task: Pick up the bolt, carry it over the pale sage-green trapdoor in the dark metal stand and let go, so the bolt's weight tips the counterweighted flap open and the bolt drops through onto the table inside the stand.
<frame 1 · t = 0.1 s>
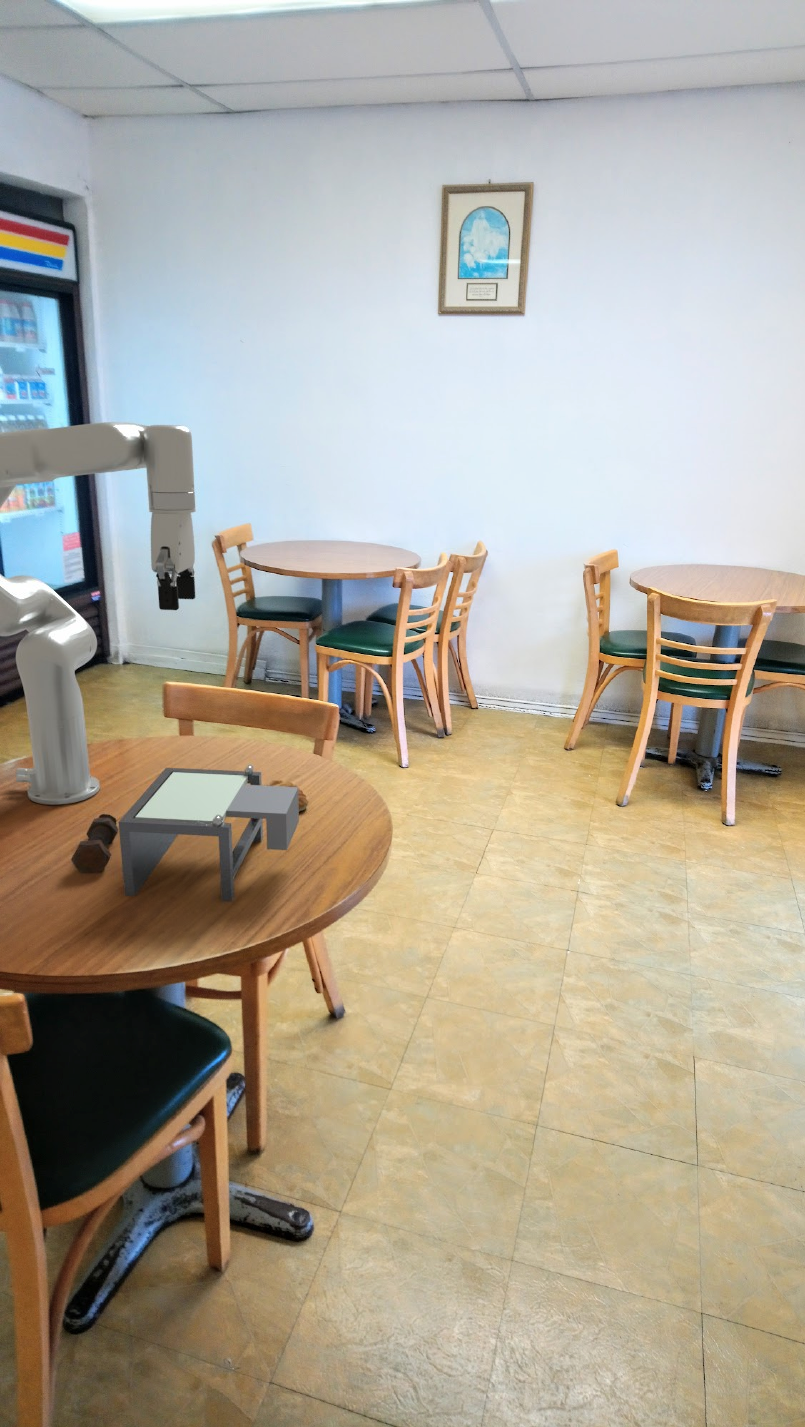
hand: (178, 604, 150), 37 cm above the table, tool pointing down, fingers open, 9 cm apart
trapdoor: (224, 814, 134), point 9 cm above the table, hinge at 0.0°
pastry: (285, 805, 161), on the table
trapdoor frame: (198, 864, 137), on the table
bolt: (101, 853, 141), on the table
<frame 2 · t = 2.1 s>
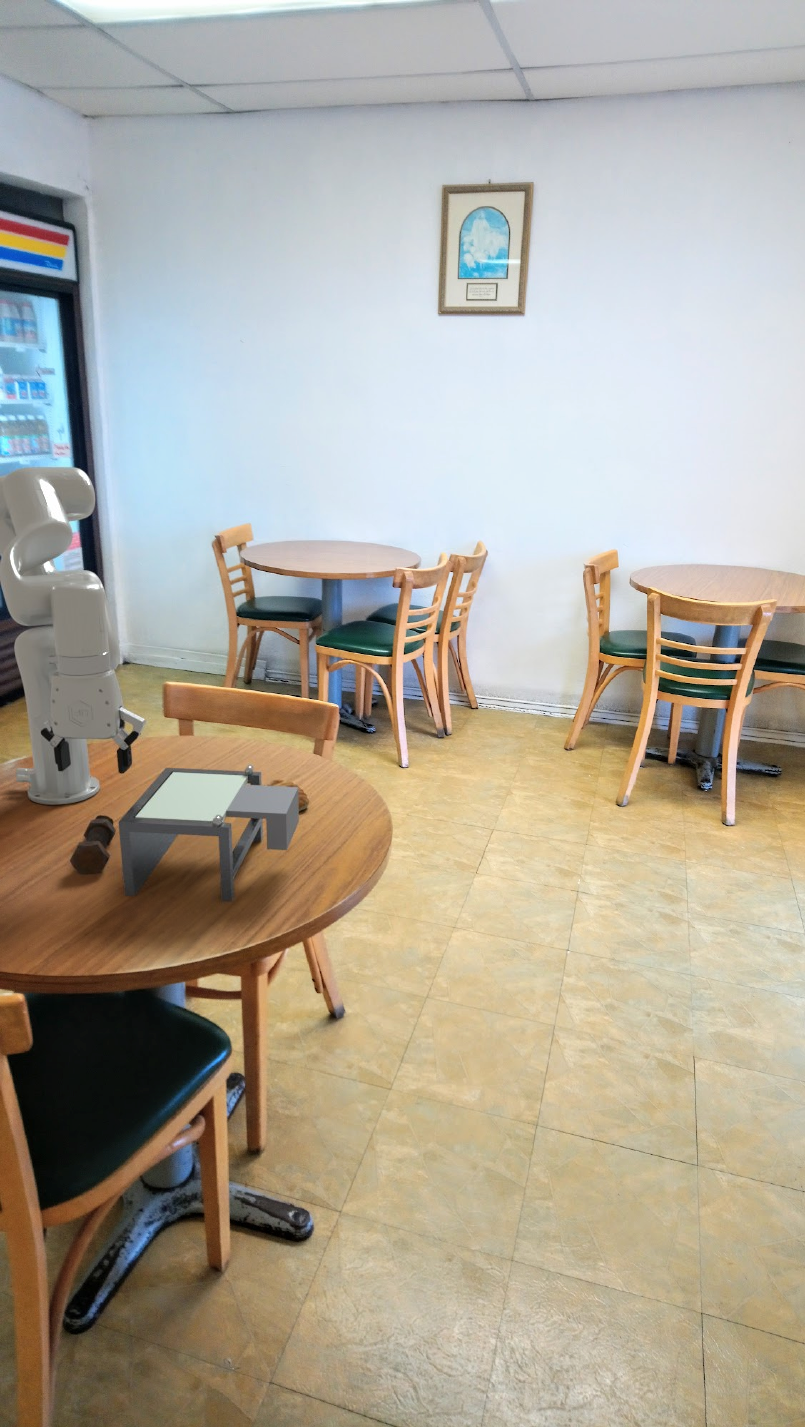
hand: (94, 769, 136), 14 cm above the table, tool pointing down, fingers open, 9 cm apart
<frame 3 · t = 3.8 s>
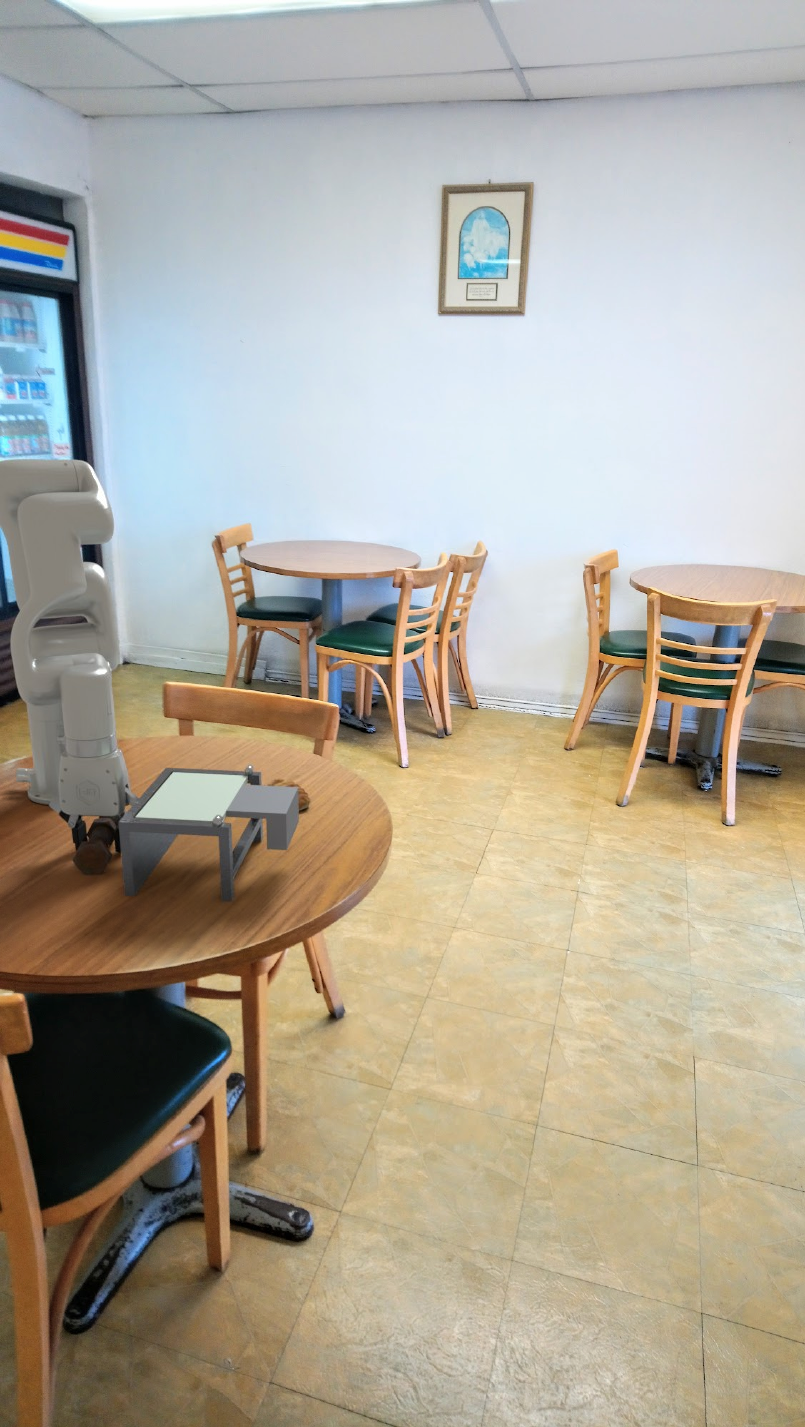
hand: (101, 847, 141), 1 cm above the table, tool pointing down, fingers closed on bolt, 5 cm apart
bolt: (102, 853, 141), on the table, touching gripper
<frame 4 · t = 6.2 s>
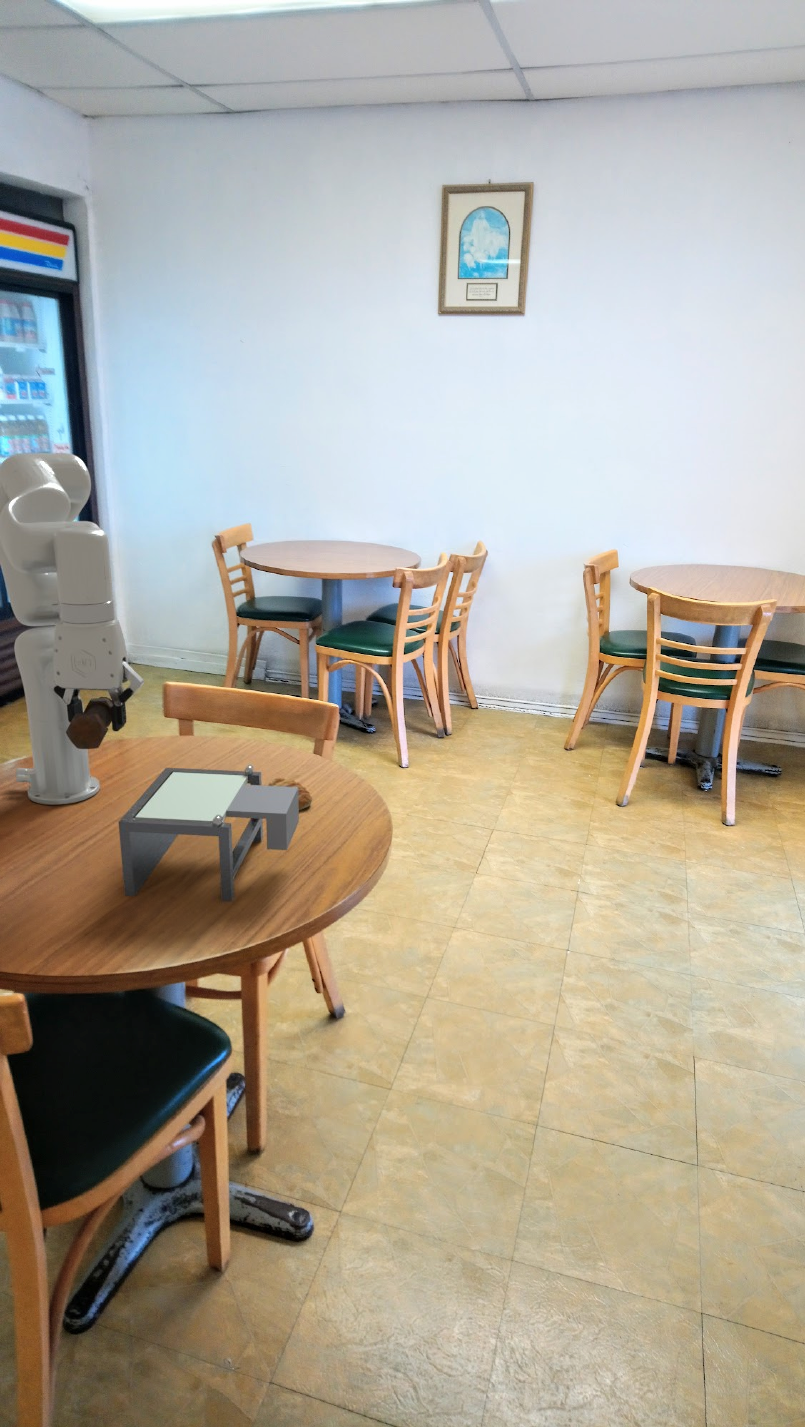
hand: (98, 726, 134), 22 cm above the table, tool pointing down, fingers closed on bolt, 5 cm apart
bolt: (98, 733, 134), point 21 cm above the table, touching gripper
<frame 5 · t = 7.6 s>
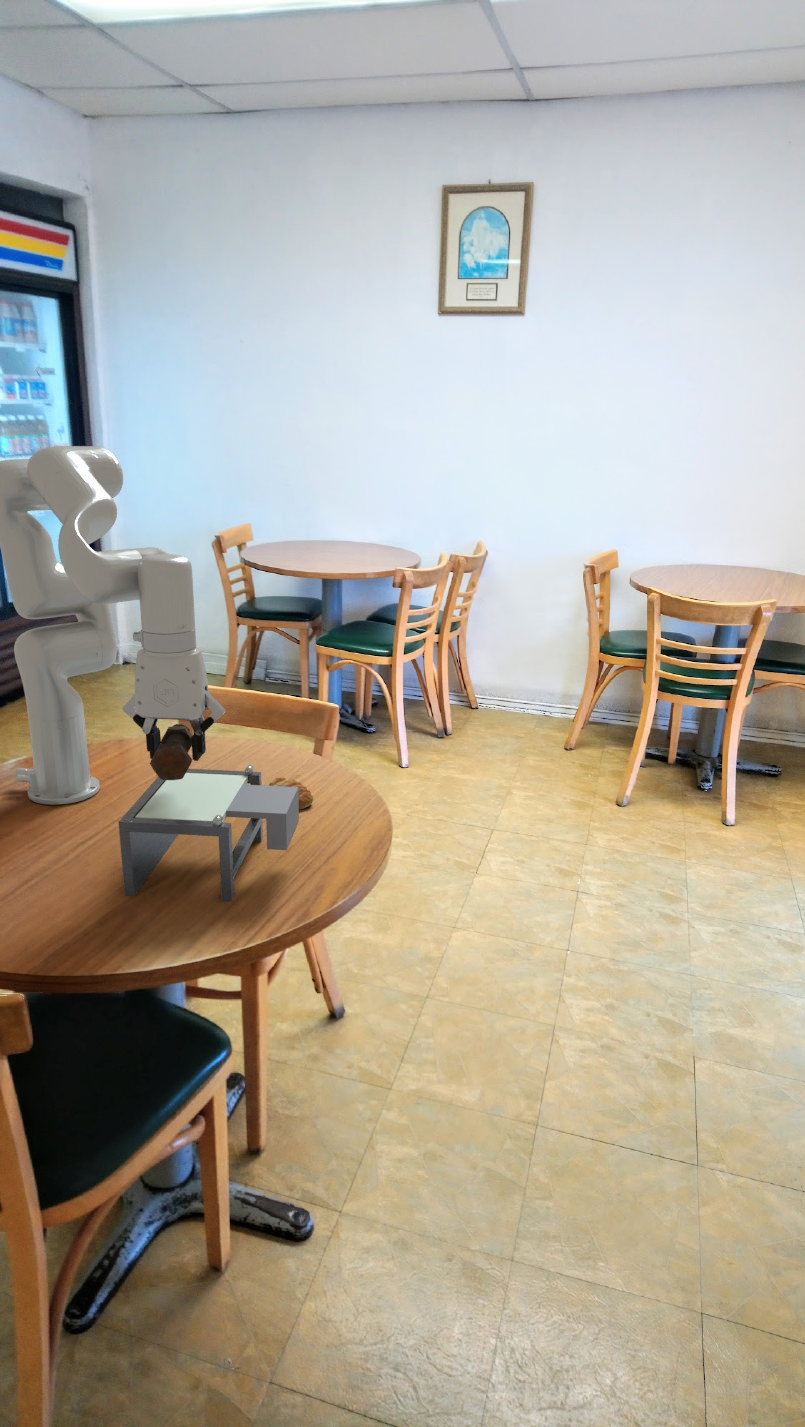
hand: (176, 755, 132), 18 cm above the table, tool pointing down, fingers closed on bolt, 5 cm apart
bolt: (177, 762, 131), point 18 cm above the table, touching gripper
when the fingers open (15 cm above the table, at t = 8.5 s): bolt drops 10 cm, point 4 cm above the table.
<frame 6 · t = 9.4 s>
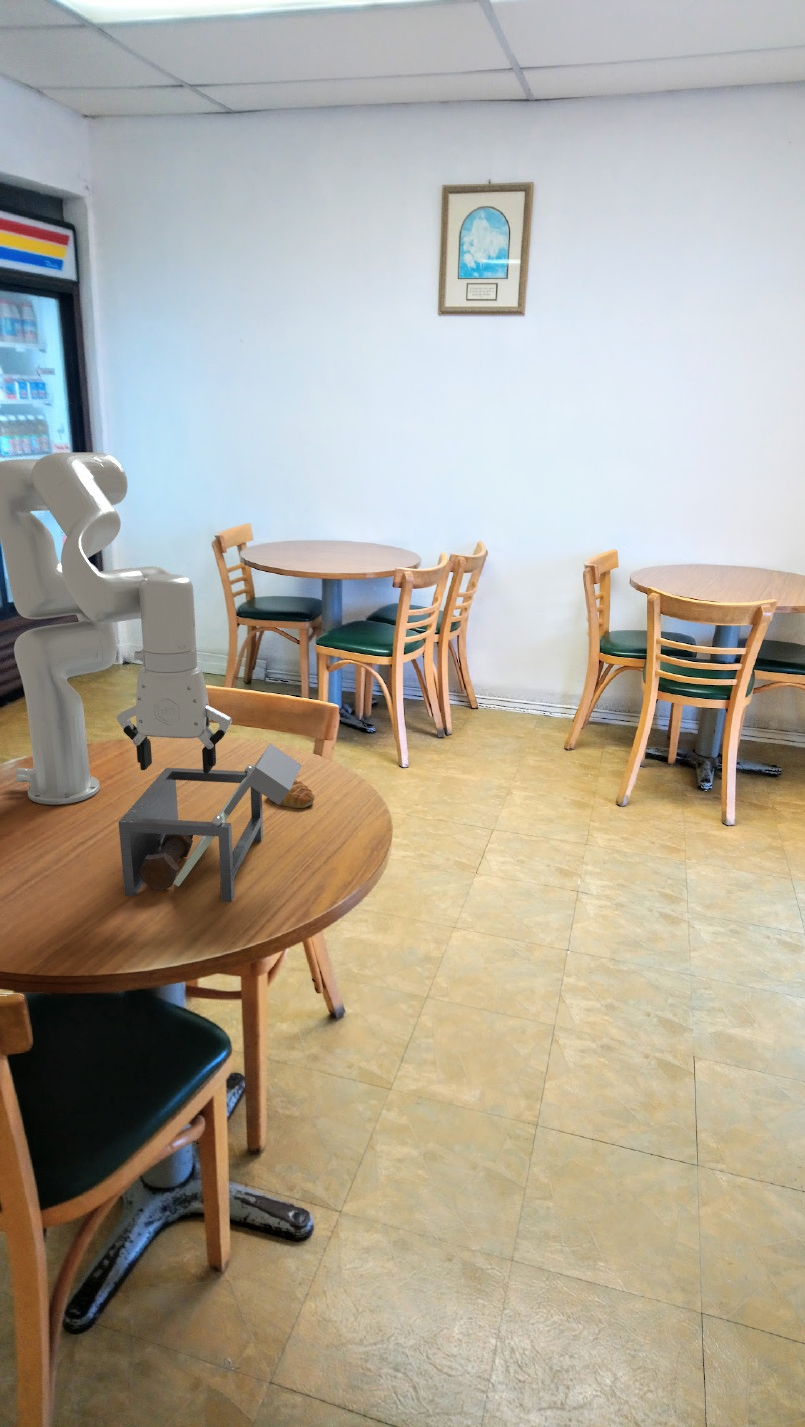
hand: (177, 768, 132), 16 cm above the table, tool pointing down, fingers open, 9 cm apart
trapdoor: (242, 817, 134), point 9 cm above the table, hinge at -55.5°
bolt: (183, 842, 135), point 4 cm above the table
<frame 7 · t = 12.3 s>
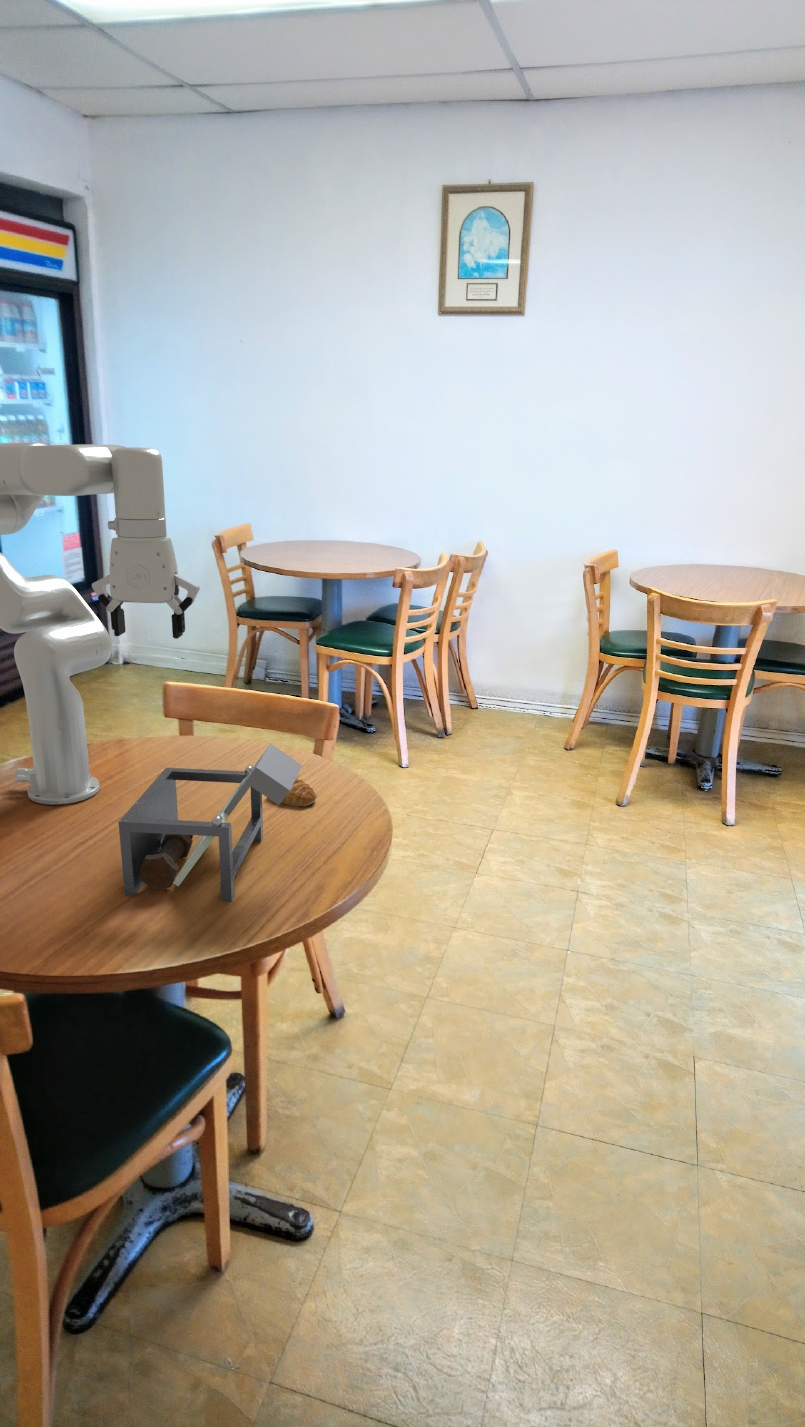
hand: (149, 635, 142), 33 cm above the table, tool pointing down, fingers open, 9 cm apart
trapdoor: (242, 817, 134), point 9 cm above the table, hinge at -55.3°, touching bolt
bolt: (182, 842, 135), point 4 cm above the table, touching trapdoor, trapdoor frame
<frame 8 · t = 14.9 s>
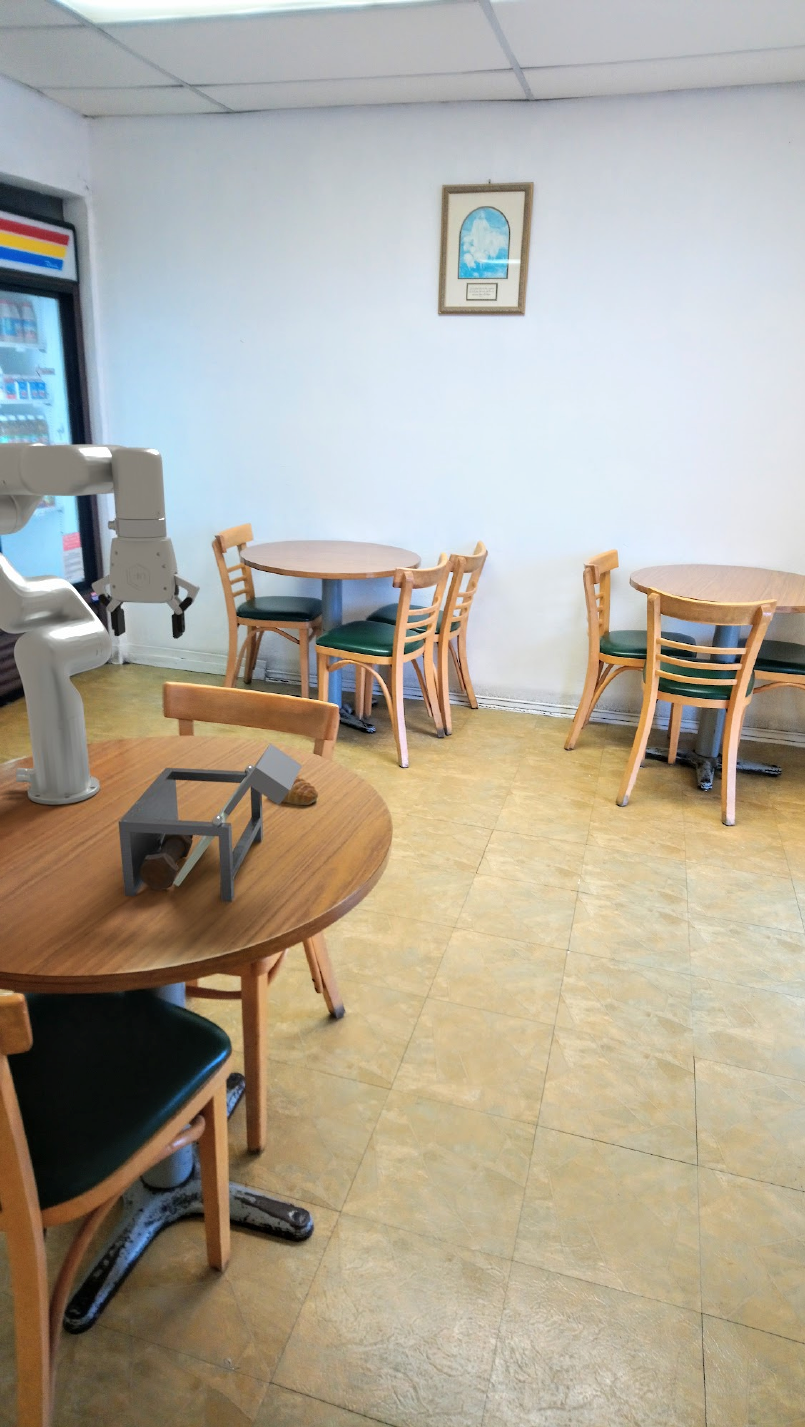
hand: (149, 635, 142), 33 cm above the table, tool pointing down, fingers open, 9 cm apart
at the end: bolt inside the target area on the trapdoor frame (2.7 cm from its centre), point 4.3 cm above the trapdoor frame's base; bolt point 4.3 cm above the table; the gripper is holding nothing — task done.
